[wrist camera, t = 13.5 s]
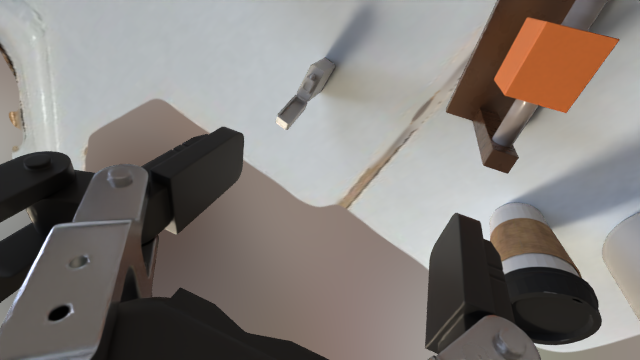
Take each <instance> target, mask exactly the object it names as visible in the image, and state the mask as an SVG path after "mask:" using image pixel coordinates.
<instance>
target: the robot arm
mask: <svg viewBox="0 0 640 360" xmlns="http://www.w3.org/2000/svg"><path fill="white" fill-rule="evenodd" d="M243 149H244V136H243V134H242V133H240V132H237V131H235V130H232V129H229V128H226V127H221V128H219V129H217V130H216V131H214V132H212V133H210V134H209V135H208V134H205V135H201V136H197V137H193V138H191V139H190V140H188V141H186V142H184V143H183V144H182V145H179V146H177V147H175V148H174V149H173V150H170V151H168V152H166V153H165V154H163V155H161V156H159V157H157V158H156V159H154V160H152V161H150V162H148V163H147V164H145V165H143V166H141V167H140V166H137V165H131V164H119V165H113V166H109V167H106V168H104V169H102V170H100V171H98V172H97V173H92V172H85V171H79V170H74V169H73V166H72V163H71V160H70V158H69V157H68V156H67V155H65V154H63V153H59V152H52V151H44V152H35V153H30V154H26V155H23V156H20V157H18V158H15V159H13V160H11V161H8V162H6V163H3V164H1V165H0V222H2V221H4V220H6V219H7V218H10V217H11V216H13V215H15V214H17V213H19V212H20V211H22V210H24V209H26V211H27V213H28V215H29V217H30V219H31V221H32V223H30V224H29V225H27V226H25V227H24V228H22V229H21V230H19V231H17V232H15V233H14V234H12V235H10V236H9V237H7V238H5V239H3V240H2V241H0V302H1V301H3V300H4V299H6V298H7V297H8V296H10V295H11V294H13V293H14V292H15V291H17V290H18V289H19V288H21V289H20V291H19V293H18V295H17V297H16V299H15V301H14V303H13V304H12V306H11V308H10V310H9V312H8V314H7V316H6V318H5V320H4V322H3V324H2V326H1V328H0V360H329V359H326V358H325V357H323V356H320V355H318V354H316V353H314V352H312V351H310V350H308V349H306V348H304V347H302V346H300V345H298V344H296V343H293V342H292V341H287V340H281V339H276V338H271V337H266V336H260V335H255V334H250V333H247V332H245V331H244V330H242V329H241V328H240V327H239V326H238V325H237V324H236V323H235V322H234V321H233V320H231V319H230V318H229V317H228V316H227V315H226V314H225V313H224V312H223V311H222V310H221V309H219V308H218V307H217V306H216V305H215V304H213V303H211V302H209V301H207V300H205V299H203V298H201V297H199V296H197V295H195V294H193V293H191V292H189V291H187V290H185V289H183V288H179V289H178V290H177V292H176V293H175V294H174V295H173V296H172V297H171V298H167V297H165V298H164V297H152V283H153V276H154V269H155V263H156V255H157V248H158V242H159V236H158V234H159V233H160V232H161V231H162V230H164V229H166V230H168V231H170V232H172V233H174V234H178V233H179V232H181V231H182V230H183V229H184V228H185V227H186V226H187V225H188V224H189V223H190V222H192V221H193V220H194V219H195V218H196V217H197V216H198V215H199V214H201V213H202V212H203V211H204V210H205V209H206V208H207V207H208V206H210V205H211V204H212V203H213V202H214V201H215V200H216V199H217V198H219V197H220V196H221V195H222V194H223V193H224V192H225V191H226V190H228V189H229V188H230V187H231V186H232V185H233V184H234V183H235V182H236V181H237V180H238V179H239V177H240V175H241V172H242V166H243ZM505 281H506V279H505V275H504V272H503V266H502V261H501V256H500V254H499V253H498V251H497V250H496V248H495V247H494V245H493V244H492V242H490V241H488V240H485V239H483V234H482V228H481V223H480V221H477V220H475V219H472V218H469V217H467V216H464V215H461V214H458V213H455V214H454V215H453V216H452V218H451V219H450V221H449V222H448V224H447V226H446V227H445V229H444V230H443V232H442V234H441V235H440V237H439V238H438V240H437V242H436V243H435V245H434V247H433V250H432V252H431V256H430V263H429V283H428V302H427V322H426V342H425V348H426V349H428V350H431V351H433V352H435V353H437V354H438V355H437V356H432V357H430V358H429V359H428V360H541V358H540V355H539V352H538V350H537V348H536V346H535V345H534V343H533V342H532V340H531V339H530V338H529V337H528V335H527V334H526V333H525V332H524V331H523V330H521V329H520V328H519V327H518V326H517V325H516V324H515V320H514V315H513V311H512V306H511V302H510V297H509V293H508V288H507V284H506V283H505Z"/></svg>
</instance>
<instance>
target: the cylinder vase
mask: <svg viewBox="0 0 640 360" xmlns="http://www.w3.org/2000/svg"><path fill="white" fill-rule="evenodd" d="M602 255H603V260H604V262H605V264H606V266H607V268H608V270H609V271H610V273H611V274H612V276H613V278H614V279H615V281H616V283H617V284H618V286H619V288H620V289H621V291H622V293H623V294H624V296H625V298H626V299H627V301H628V302H629V304H630V306H631V307H632V309H633V311H634V312H635V314H636V316H637V317H638V319H639V321H640V213H637V214H635V215H633V216H631V217H629V218H627V219H626V220H624V221H622V222H621V223H620V224H618V225H617V226H616V227H615V228H614V229H613V230H612V231H611V232H610V233H609V235H608V236H607V238H606V239H605V242H604V244H603V249H602Z"/></svg>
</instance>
